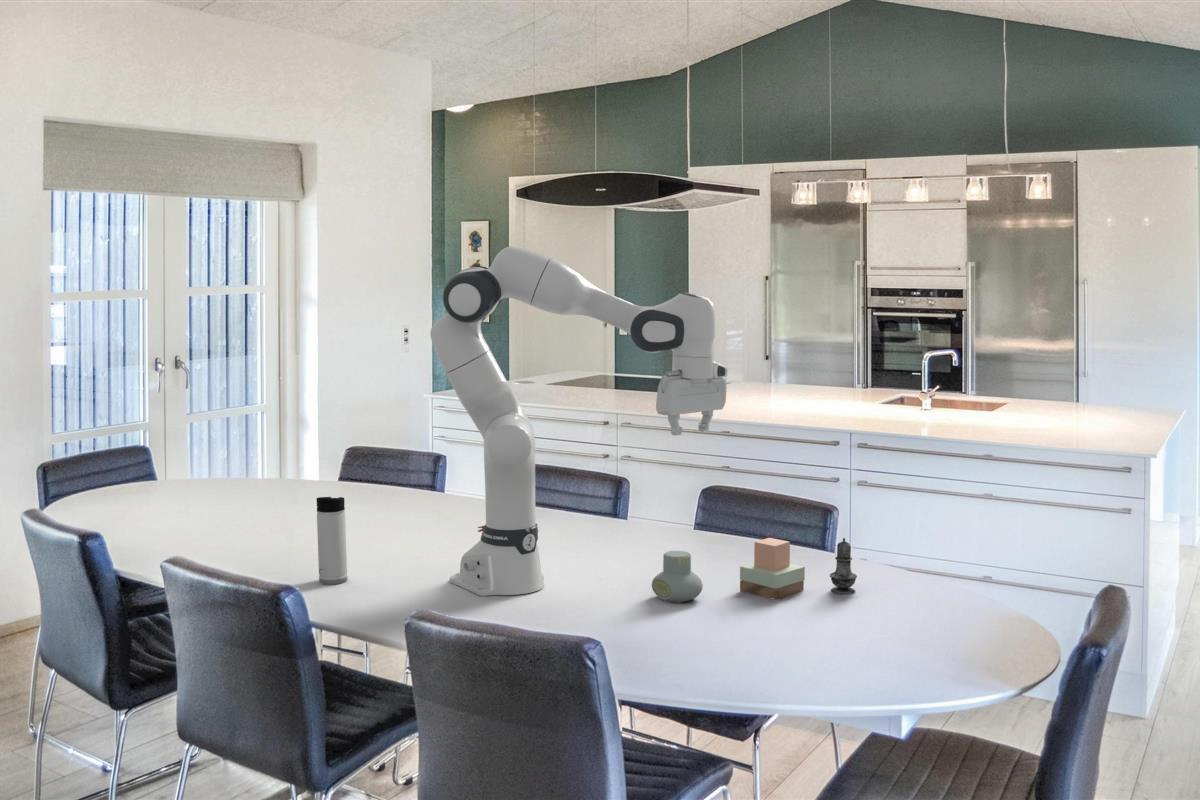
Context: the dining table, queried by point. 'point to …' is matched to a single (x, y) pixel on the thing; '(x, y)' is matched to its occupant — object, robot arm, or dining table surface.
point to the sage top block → (772, 575)
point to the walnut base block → (771, 590)
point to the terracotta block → (772, 554)
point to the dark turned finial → (843, 570)
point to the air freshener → (677, 578)
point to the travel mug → (331, 540)
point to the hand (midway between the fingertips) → (690, 433)
